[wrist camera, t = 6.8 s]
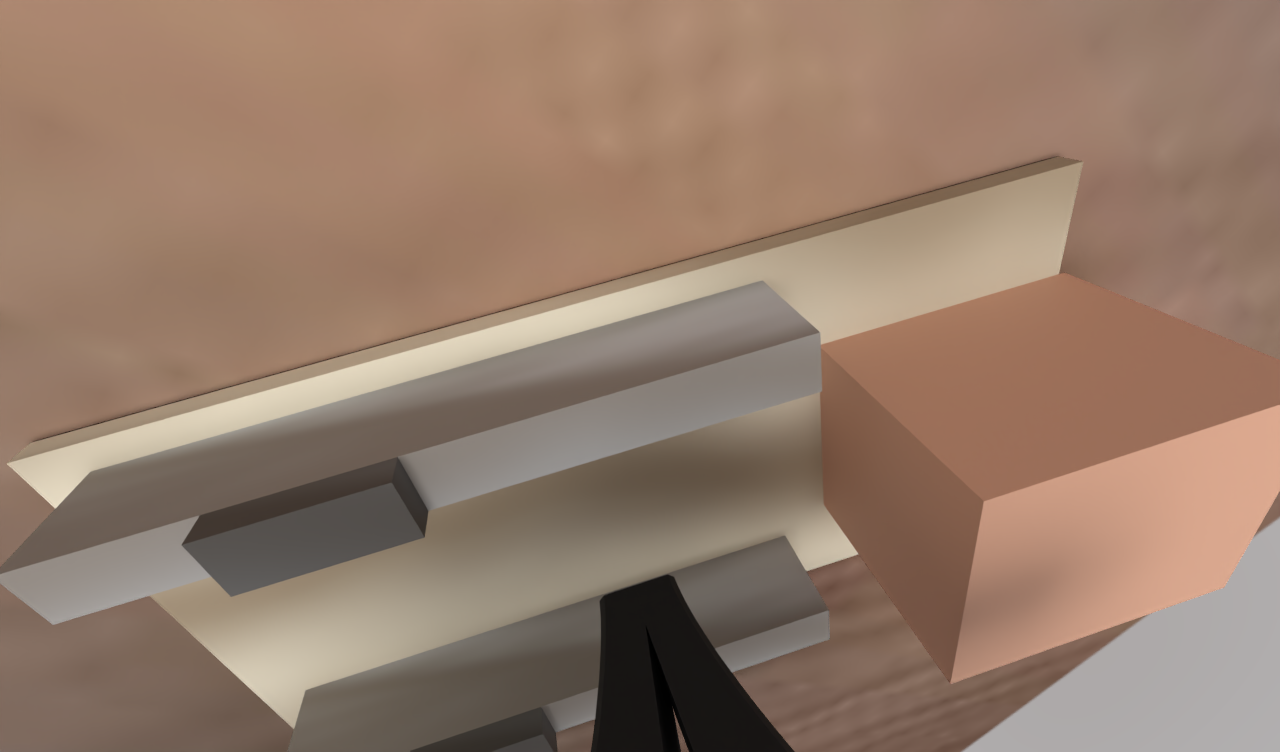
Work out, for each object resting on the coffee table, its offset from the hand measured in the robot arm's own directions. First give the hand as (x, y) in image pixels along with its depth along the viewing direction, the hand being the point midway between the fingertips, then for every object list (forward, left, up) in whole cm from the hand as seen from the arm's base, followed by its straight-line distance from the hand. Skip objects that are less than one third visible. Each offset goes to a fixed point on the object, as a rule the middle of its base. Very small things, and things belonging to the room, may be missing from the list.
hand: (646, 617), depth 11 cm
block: (0, -8, -4) cm, 9 cm away
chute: (0, -1, -4) cm, 4 cm away
